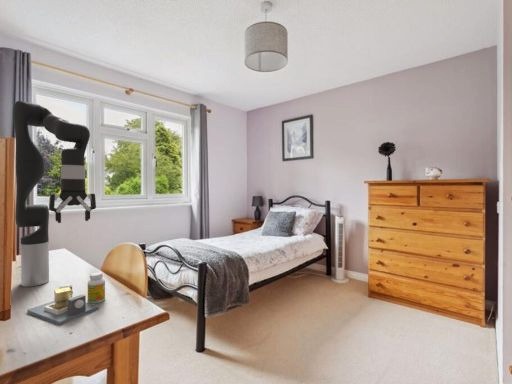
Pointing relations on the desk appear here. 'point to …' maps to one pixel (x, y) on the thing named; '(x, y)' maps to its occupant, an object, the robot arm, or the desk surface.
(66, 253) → the desk surface
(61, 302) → the tan rectangular block
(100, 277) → the supplement bottle
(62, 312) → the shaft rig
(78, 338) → the desk surface
